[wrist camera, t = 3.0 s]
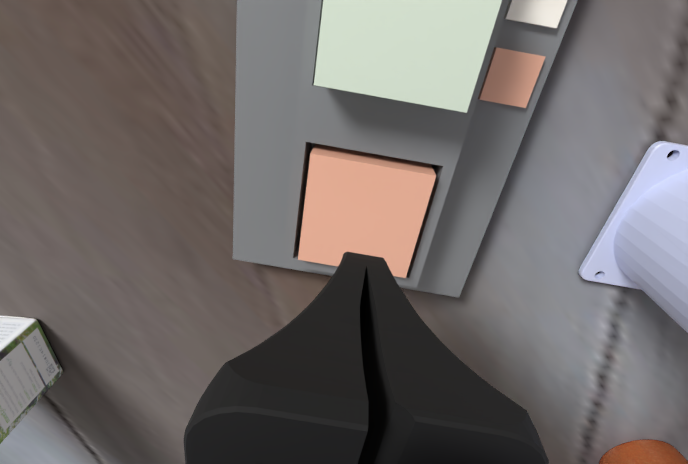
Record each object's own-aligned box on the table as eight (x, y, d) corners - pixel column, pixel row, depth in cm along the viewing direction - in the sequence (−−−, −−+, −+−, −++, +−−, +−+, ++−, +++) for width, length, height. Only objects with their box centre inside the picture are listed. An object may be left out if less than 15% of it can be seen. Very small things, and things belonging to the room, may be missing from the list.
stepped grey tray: (751, -502, 10) (928, -750, 7) (453, 282, 22) (467, 321, 19) (265, -610, 9) (215, -920, 6) (241, 245, 22) (220, 280, 19)
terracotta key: (427, 157, 17) (436, 175, 15) (401, 250, 20) (405, 277, 17) (318, 137, 17) (310, 153, 15) (306, 234, 20) (297, 259, 17)
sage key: (499, -64, 12) (529, -86, 10) (452, 100, 14) (466, 112, 12) (343, -94, 12) (337, -123, 10) (322, 77, 14) (313, 85, 12)
